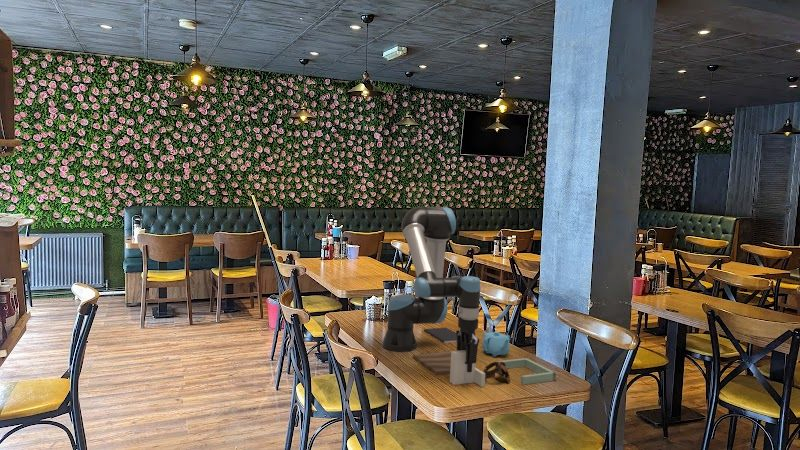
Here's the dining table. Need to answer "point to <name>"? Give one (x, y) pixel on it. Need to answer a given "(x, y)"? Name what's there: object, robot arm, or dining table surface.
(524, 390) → the dining table surface
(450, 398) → the dining table surface
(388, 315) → the robot arm
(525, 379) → the corral
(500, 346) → the blue piggy bank
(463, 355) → the grey l-shaped bookend
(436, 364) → the board
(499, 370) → the brown twisted sculpture
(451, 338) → the notebook
